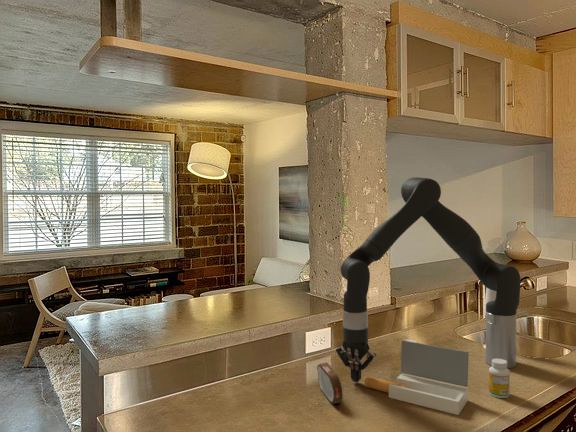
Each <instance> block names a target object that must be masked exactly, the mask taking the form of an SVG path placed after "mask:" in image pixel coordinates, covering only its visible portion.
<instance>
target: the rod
mask: <svg viewBox="0 0 576 432" xmlns="http://www.w3.org/2000/svg"><path fill="white" fill-rule="evenodd" d="M363 384H364V385H365V387H366V388H369V389H372V390H377V391H381V392H384V393H387V394H389V385H390V384H392V385H396V386H401V387H405V386H404V385H401V384H397V382H391V381H388V380H384V379H379V378H376V377H369V376H368V377H366V378H365V379H364V383H363ZM405 388H406V387H405Z"/></svg>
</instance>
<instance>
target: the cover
mask: <svg viewBox="0 0 576 432" xmlns="http://www.w3.org/2000/svg"><path fill="white" fill-rule="evenodd" d="M400 348H401V349H400V351H401V352H400V354H401V355H400V373H401V374H407V375H412V376H416V377H421V378H425V379H430V380H434V381H439V382H443V383H448V384H452V385H457V386H461V387H466V388H469V387H468V386H469V385H468V384H469V357H470V356H469V353H470V352H469V351H465V350H459V349H453V348H449V347H443V346H436V345H432V344H427V343H426V344H425V343H419V342H418V343H415V342H410V341H406V340H404V339H402V340H401V347H400Z"/></svg>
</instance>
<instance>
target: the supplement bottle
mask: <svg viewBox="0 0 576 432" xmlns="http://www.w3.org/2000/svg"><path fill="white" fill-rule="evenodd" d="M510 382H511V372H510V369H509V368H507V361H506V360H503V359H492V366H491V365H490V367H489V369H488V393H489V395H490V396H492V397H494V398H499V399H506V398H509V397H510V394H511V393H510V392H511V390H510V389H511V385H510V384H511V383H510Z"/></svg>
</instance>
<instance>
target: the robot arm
mask: <svg viewBox="0 0 576 432" xmlns="http://www.w3.org/2000/svg"><path fill="white" fill-rule="evenodd" d="M441 189H442V188H441V186H440V184H439V183H438V181H437V180H435V179H432V178H429V177H410V178H408V179H406V180H405V181H403V183H402V184H401V189H400V192H401V193H400V194H401V198H402V199H403V201H404V202H405V204H404V205H403V206H402V207H401V208H400V209H399V210H397V212H396V213H394V214H393V215H392V216H390V217H389V218H388V219H386V220H384V221H382V222H381V223H380V224H379V225H378V226H377V227H375V229H374V230H373V231H372V232H371V233H370V235H369V236H368V237H367V238H366V239H365V240H364V241H363V243H362V244H361V245H360V246H359V247H357V248H355V250H354V251H352V252H351V253H350V254H349V255H348V256H347V257H346V258H345V259H344V260H343V262H342V264H341V266H340V274H341V275H342V278H344V279H345V280H346V281H347V282H346V291H345V292H344V293H343V304H342V305H343V311H342V313H343V315H342V340H343V341H342V343H341V346H339V347H337V348H336V350H335V352H336V353H337V355H338V357H339V358H340V360H341V361H342V363H343V365H344V366H345V367H348V368H349V370H350V379H351V380H352V382H354V383H359V382H360V380H362V371H363V370H365V369H366V368H368V366H369V365H370V364H371V363H372V362H373V361H374V359H376V357H377V354H376V353H375V352H372V351H371V350H370V346H369V317H368V303H367V302H368V292H369V287H370V280H371V274H370V267H369V266H370V265H371V264H373V263H374V262H379V261H380V260H381V259H382V258H383V257H384V256H385V255H386V253H387V252H388V251H389V250H390V249H391V248H392V246H393V245H394V244H395V243H396V242H397V240H398V239H400V238H401V236H402V235H403V234H404V233H405V232H406V231H407V230H408V229H409V228H410V227H412V226H413V225H414V224H415V223H416V222H417V221H418V220H419V219H420V218H423V219H424V220H425V221H426V222H427V223H428V224H429V225H430V226H431V228H432V229H433V230H434V232H436V233H437V235H439V237H440V238H442V240H443V241H444V242H445V244H447V245H448V247H449V248H451V250H452V251H453V252H454V253H455V254H456V255H457V256H458V257H459V258H460V259H461V260H462V261H463V262H464V263H465V264H466V265H467V266H468V267H469V268H470V269H471V271H472V272H473V273H474V275H475V276H476V277H477V278H478V279H479V281H480V282H481V284H482V285H483V286H484V288H486V287H487V288H488V289H490V290H493V291H496V299H495V300H494V301H490V302H488V303H487V304H486V315H485V345H486V348H485V363H486V364H487V365H489V366H490V367H491V366H492V359H503V360H506V361H507V369H511V368H512V369H513V368H515V367H516V366H517V310H518V308H519V304H520V297H521V296H520V295H521V282H522V281H521V275H520V271H519V270H518V269H517V267H515V266H512V265H509V264H503V263H499V262H496V261H494V260H493V259H492V258H491V257H490V256H489V255H488V254H487V253H486V252H485V250H484V249H483V243H482V239H481V237H480V235H479V233H478V232H477V231H476V229H474V227H473V226H472V225H471V224H470V223H469V222H468V221H467V220H466V219H464V218H463V217H462V216H461V215H459V214H457V213H456V212H454V211H453V210H451V209H450V208H448V207H447V206H446V205H444V204H443V203H441V202H440V201H439V200H440V198H441V195H442V190H441ZM365 356H366V359H365V361H364V357H365ZM363 361H364V362H363Z"/></svg>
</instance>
